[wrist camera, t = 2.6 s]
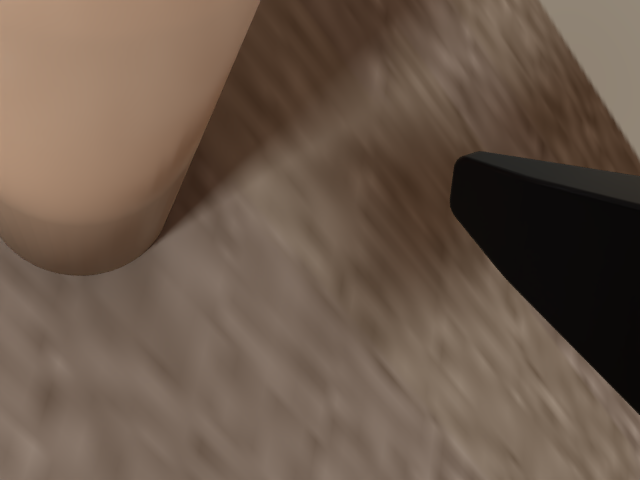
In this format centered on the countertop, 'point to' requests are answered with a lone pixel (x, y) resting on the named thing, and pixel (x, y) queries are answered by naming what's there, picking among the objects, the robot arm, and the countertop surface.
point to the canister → (104, 120)
